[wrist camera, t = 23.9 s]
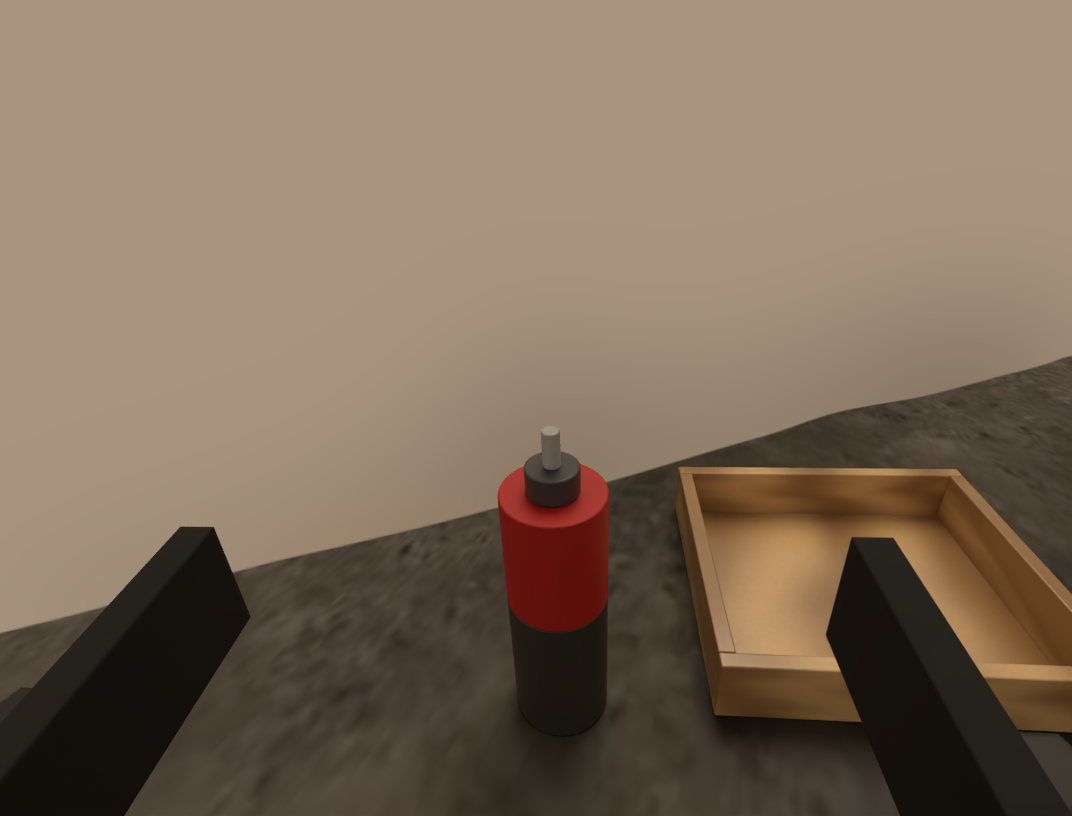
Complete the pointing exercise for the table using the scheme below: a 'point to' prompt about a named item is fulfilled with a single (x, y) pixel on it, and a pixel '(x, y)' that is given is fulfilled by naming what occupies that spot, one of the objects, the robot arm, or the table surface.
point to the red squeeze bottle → (557, 587)
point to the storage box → (815, 571)
